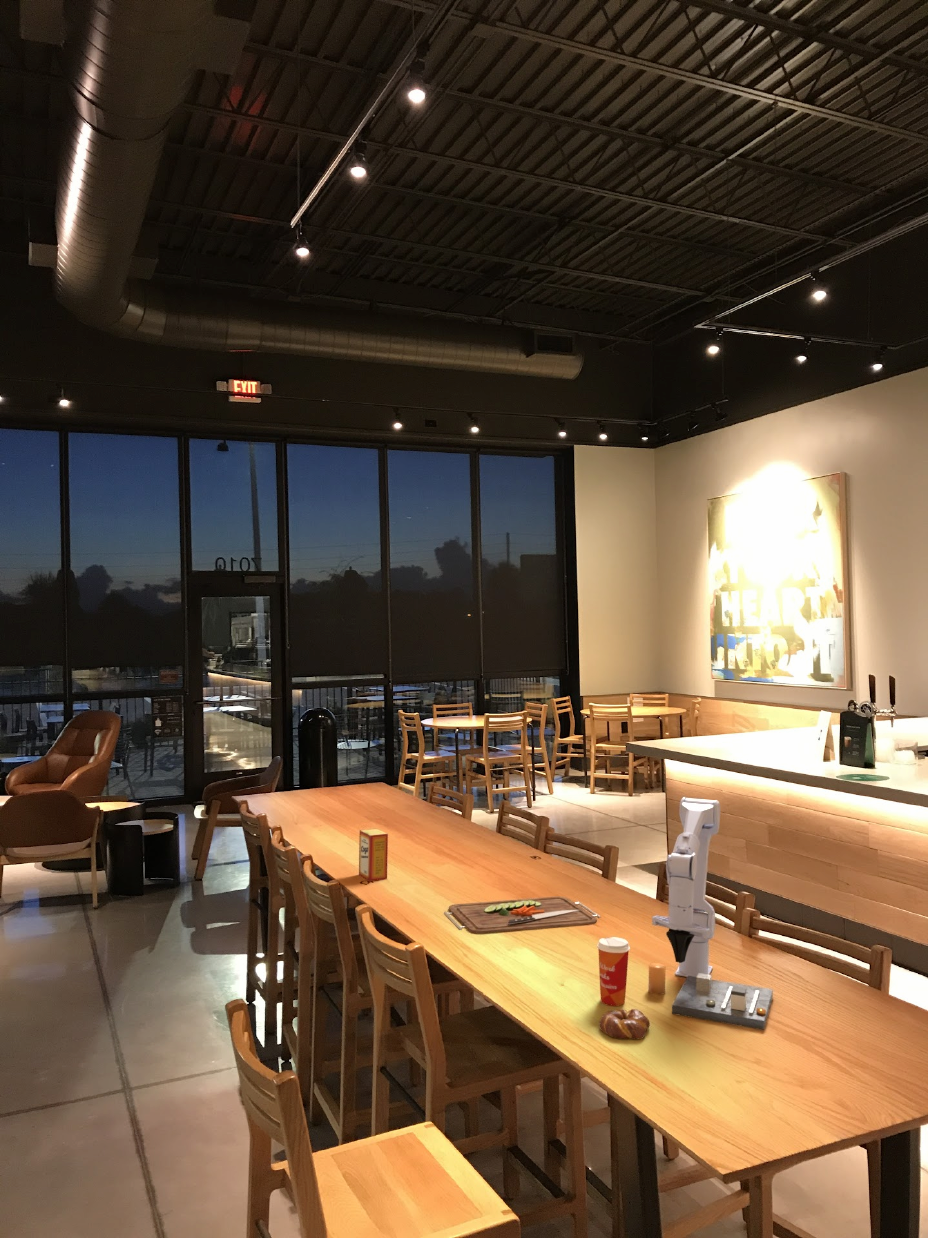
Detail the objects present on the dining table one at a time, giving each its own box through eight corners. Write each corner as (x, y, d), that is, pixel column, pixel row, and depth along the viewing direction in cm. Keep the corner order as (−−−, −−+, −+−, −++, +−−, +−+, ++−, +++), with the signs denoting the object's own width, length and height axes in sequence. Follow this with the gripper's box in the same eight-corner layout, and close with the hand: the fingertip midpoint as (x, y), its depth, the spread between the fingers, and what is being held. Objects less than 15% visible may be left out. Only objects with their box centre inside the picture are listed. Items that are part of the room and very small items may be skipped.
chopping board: (571, 899, 303) (571, 890, 303) (608, 924, 278) (608, 914, 278) (438, 909, 290) (439, 900, 290) (464, 937, 264) (465, 926, 264)
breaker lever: (732, 1004, 213) (732, 986, 213) (746, 1006, 212) (746, 988, 212) (730, 1008, 210) (731, 990, 210) (744, 1011, 209) (744, 993, 209)
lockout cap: (650, 987, 228) (650, 962, 228) (666, 989, 226) (667, 965, 226) (646, 992, 224) (647, 967, 224) (663, 995, 223) (663, 970, 223)
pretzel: (617, 1015, 211) (617, 999, 212) (660, 1029, 204) (660, 1012, 205) (588, 1032, 202) (589, 1014, 202) (633, 1046, 195) (633, 1029, 195)
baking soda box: (358, 875, 328) (359, 829, 328) (375, 872, 331) (376, 827, 331) (369, 881, 319) (370, 834, 320) (387, 879, 323) (387, 832, 323)
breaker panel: (687, 983, 230) (688, 963, 230) (772, 997, 222) (772, 976, 222) (672, 1013, 212) (672, 991, 212) (763, 1030, 204) (764, 1007, 204)
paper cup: (590, 997, 221) (591, 938, 221) (618, 993, 223) (619, 935, 224) (606, 1010, 213) (607, 948, 214) (635, 1006, 216) (636, 945, 216)
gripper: (645, 901, 224) (645, 958, 224) (700, 914, 214) (699, 973, 214) (660, 895, 229) (660, 950, 229) (714, 908, 220) (714, 966, 219)
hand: (680, 961), depth 222 cm, fingers closed
